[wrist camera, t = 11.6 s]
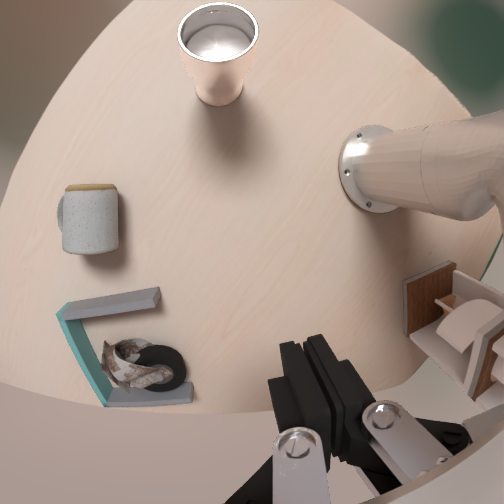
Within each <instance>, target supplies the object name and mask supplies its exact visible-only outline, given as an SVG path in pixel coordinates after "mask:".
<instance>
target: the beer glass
mask: <svg viewBox="0 0 504 504" xmlns="http://www.w3.org/2000/svg"><path fill="white" fill-rule="evenodd" d="M258 37H259V26H258V23H257V21H256V19H255V17H254V16H253V15H252V14H251V13H250V12H249V11H247V10H246V9H244V8H242V7H240V6H238V5H235V4H231V3H223V2H218V3H210V4H206V5H203V6H200V7H198V8H196V9H194V10H192V11H191V12H190V13H188V14H187V15H186V16H185V17H184V18H183V20H182V21H181V23H180V25H179V27H178V31H177V39H178V43H179V51H180V56H181V60H182V63H183V65H184V68H185V70H186V71H187V73H188V74H189V76H190V77H191V78H192V79H193V80H194V81H195V90H196V93H197V95H198V97H199V98H200V99H201V100H202V101H203V102H205V103H207V104H209V105H213V106H223V105H227V104H229V103H231V102H233V101H234V100H235V99H237V97H238V96H239V95H240V93H241V91H242V88H243V81H242V79H243V78H244V77H245V76H246V74H247V73H248V71H249V70H250V68H251V67H252V64H253V62H254V59H255V56H256V51H257V44H258Z"/></svg>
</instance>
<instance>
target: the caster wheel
mask: <svg viewBox="0 0 504 504" xmlns="http://www.w3.org/2000/svg"><path fill="white" fill-rule="evenodd" d="M101 370H102V371H103V372H104V373H105V374H106V375H107V376H108V377H109V378H110V379H111V380H112V381H113V382H115V383H116V384H117V385H118V386H119V387H120V388H121V389H122V390H124V391H125V392H126V393H127V394H128V395H130V384H132V385H133V386H134V387H136V388H139V389H142V388H144V389H146V390H148V391H152V392H167V391H170V390H173V389H175V388H177V387H179V386H180V385H181V384H182V383H183V381H184V380H185V377H186V370H185V365H184V361H183V358H182V356H181V355H180V354H179V353H178V352H177V351H176V350H174V349H172V348H170V347H167V346H163V345H153V344H152V343H150V342H148V341H146V340H144V339H140V338H131V339H126V340H122V341H120V342H118V343H116V344H114V345H112V346H110V345H109V344H108V343H107V342H106V341H104V346H103V353H102V362H101Z"/></svg>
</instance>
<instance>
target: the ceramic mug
mask: <svg viewBox="0 0 504 504" xmlns="http://www.w3.org/2000/svg"><path fill="white" fill-rule="evenodd" d="M57 220H58V225H59V228H60V230H61V232H62V246H63V250H64V251H65V252H67V253H70V254H77V255H95V254H101V253H108V252H110V251H113V250H115V249H117V248H118V246H119V238H118V194H117V188H116V187H115V186H114V185H113V184H80V185H69V186H68V187H67V188H66V190H65V194H64V195H63V196H62V197H61V199H60V201H59V204H58V210H57Z"/></svg>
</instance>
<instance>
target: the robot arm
mask: <svg viewBox="0 0 504 504" xmlns="http://www.w3.org/2000/svg"><path fill="white" fill-rule="evenodd" d="M357 136H358V138H357ZM344 171H346V174H345V173H344ZM339 173H340V178H341V182H342V185H343V187H344V189H345V191H346V193H347V194H348V196H349V197H350V199H351V200H352V201H353V202H354V203H355V204H356V205H358V206H359V207H361V208H362V209H365V210H367V211H370V212H374V213H387V212H390V211H393V210H395V209H396V208H398V207H404V208H408V209H413V210H417V211H421V212H425V213H430V214H434V215H438V216H442V217H446V218H450V219H454V220H459V221H471V220H475V219H478V218H479V217H481V216H483V215H484V214H486V213H487V212H488V211H489V210H490V209H491V208H492V207H493V206H494V205H495V204H496V206H497V208H498V210H499V214H500V220H501V227H502V232H503V239H504V110H500V111H497V112H494V113H491V114H486V115H483V116H478V117H473V118H469V119H462V120H457V121H450V122H443V123H438V124H432V125H426V126H420V127H414V128H409V129H404V130H399V131H393V130H391V129H389V128H387V127H384V126H380V125H369V126H365V127H362V128H360V129H358V130H356V131H354V132H353V133H352V134H351V135H350V136H349V137H348V138H347V140H346V141H345V143H344V145H343V147H342V149H341V153H340V157H339ZM366 203H367V206H366ZM279 345H280V353H281V359H282V366H283V372H284V376H283V377H278V378H274V379H269V380H268V385H269V390H270V395H271V399H272V404H273V408H274V412H275V417H276V421H277V425H278V429H279V433H280V435H278V436H277V437H276V439H275V441H274V444H273V455H272V456H271V457H270V458H269V459H268V460H267V461H266V462H265V463H264V464H263V465H262V467H261V468H260V469H259V470H258V471H257V472H256V473H255V474H254V475H253V476H252V477H251V478H250V479H249V480H248V481H247V482H246V483H245V484H244V485H243V486H242V487H241V488H240V489H239V490H237V491H236V492H235V493H234V494H233V495H232V496H231V497H230V498H229V499H228V500H227V501H226V502H225V503H224V504H331V501H330V493H329V486H328V480H327V473H328V471H329V470H330V458H331V453H332V455H333V457H336V456H338V457H339V459H340V462H343V461H346V462H347V464H350V465H353V466H354V467H355V469H356V471H357V473H358V474H359V475H360V477H361V478H362V480H363V481H364V482H365V484H366V485H367V487H368V488H369V489H370V491H371V492H372V493H373V495H374V496H375V498H373V499H370V500H368V501H365V502H363V503H360V504H504V404H501V405H498V406H496V407H494V408H492V409H490V410H487V411H485V412H483V413H481V414H479V415H476V416H474V417H472V418H469V419H467V420H464V421H463V422H462V424H456V423H448V422H440V421H433V420H426V419H420V418H414V417H413V416H412V415H411V414H410V413H408V411H406V410H405V409H404V408H403V407H402V406H401V405H400V404H398V403H397V402H393V401H389V400H383V401H378V402H376V400H375V398H374V397H373V396H372V394H371V392H370V391H369V389H368V388H367V386H366V385H365V383H364V382H363V380H362V379H361V377H360V376H359V374H358V373H357V371H356V370H355V368H354V367H353V365H352V364H351V362H350V361H349V360H347V359H346V360H343V361H338V360H337V358H336V356H335V355H334V353H333V352H332V350H331V348H330V347H329V345H328V343H327V342H326V340H325V339H324V337H323V335H322V334H318V335H314V336H311V337H308V338H307V341H305V342H303V349H302V347H301V345H300V343H297V344H295V343H294V341H290V342H286V343H281V344H279ZM303 350H304V352H303Z"/></svg>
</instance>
